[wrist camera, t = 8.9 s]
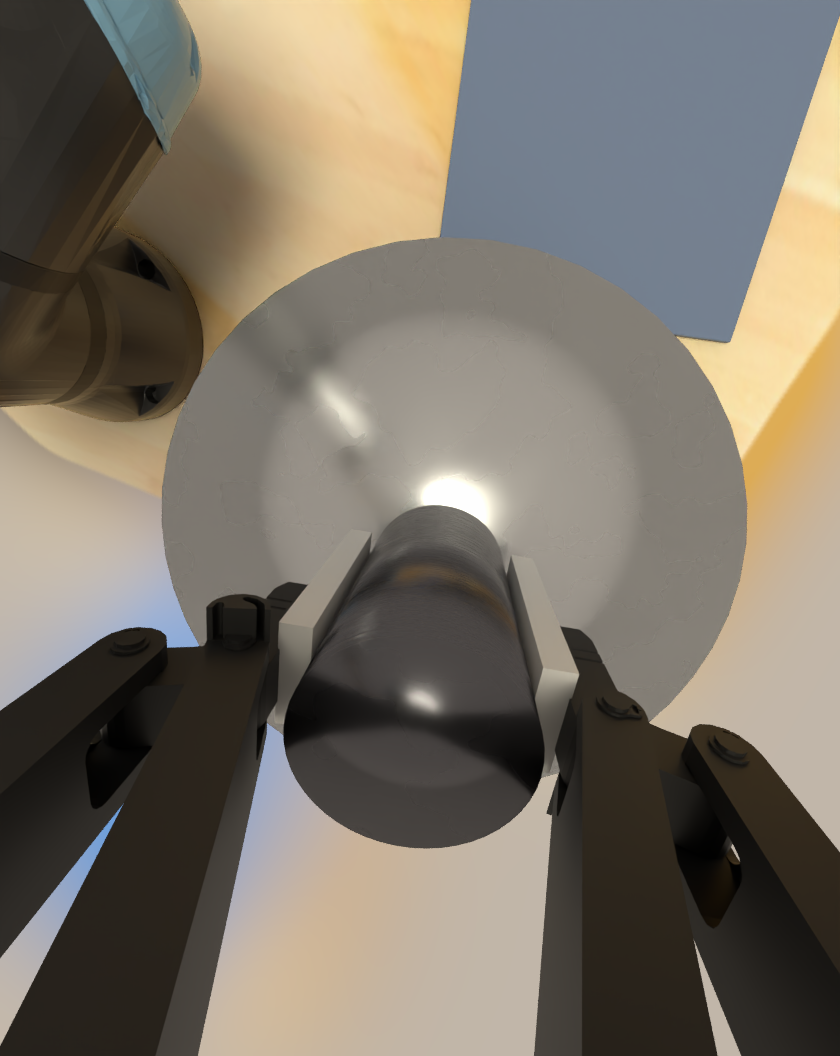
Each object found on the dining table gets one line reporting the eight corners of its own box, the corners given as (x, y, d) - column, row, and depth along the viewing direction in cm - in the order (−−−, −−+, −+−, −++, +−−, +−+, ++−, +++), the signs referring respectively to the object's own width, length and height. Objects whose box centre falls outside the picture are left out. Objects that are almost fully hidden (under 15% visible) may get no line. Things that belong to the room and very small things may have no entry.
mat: (432, 302, 35) (431, 300, 35) (485, -99, 28) (485, -109, 27) (725, 342, 34) (730, 342, 34) (860, -63, 27) (868, -72, 26)
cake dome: (285, 603, 34) (-27, 986, 12) (299, 287, 27) (-354, -107, 5) (569, 652, 33) (774, 1160, 11) (660, 337, 26) (1625, 102, 4)
